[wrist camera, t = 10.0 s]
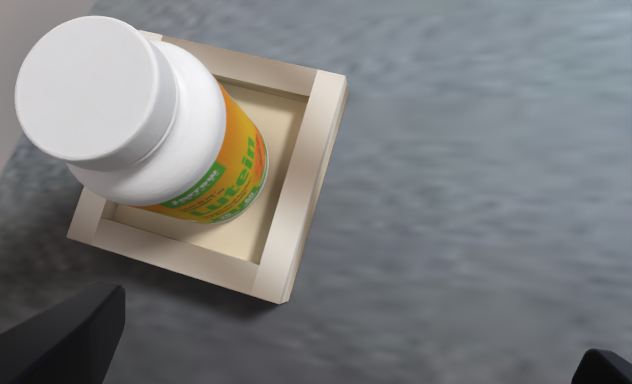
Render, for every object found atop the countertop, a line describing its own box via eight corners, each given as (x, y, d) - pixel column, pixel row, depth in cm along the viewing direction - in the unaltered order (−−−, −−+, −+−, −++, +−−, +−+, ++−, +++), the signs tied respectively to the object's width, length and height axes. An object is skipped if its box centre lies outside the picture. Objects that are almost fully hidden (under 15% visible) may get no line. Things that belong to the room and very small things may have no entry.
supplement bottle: (230, 248, 21) (107, 230, 12) (135, 188, 22) (-50, 127, 13) (293, 143, 21) (224, 43, 12) (196, 90, 22) (61, -43, 13)
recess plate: (288, 301, 21) (278, 304, 19) (92, 239, 23) (65, 237, 21) (348, 92, 22) (345, 75, 21) (158, 49, 24) (138, 29, 22)
